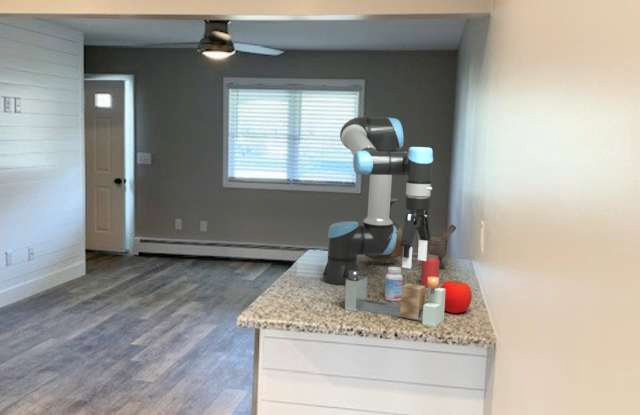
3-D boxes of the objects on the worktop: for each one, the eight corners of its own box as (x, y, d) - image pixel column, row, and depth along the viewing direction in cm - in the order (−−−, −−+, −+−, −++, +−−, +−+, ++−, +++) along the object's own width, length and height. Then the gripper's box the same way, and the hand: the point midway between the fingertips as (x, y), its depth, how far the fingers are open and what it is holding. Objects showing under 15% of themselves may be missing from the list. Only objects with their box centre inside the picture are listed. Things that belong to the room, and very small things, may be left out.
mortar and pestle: (451, 265, 275) (453, 222, 273) (454, 270, 266) (457, 225, 264) (425, 264, 276) (428, 221, 273) (428, 268, 267) (430, 224, 265)
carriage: (400, 316, 190) (401, 286, 189) (406, 312, 195) (407, 283, 194) (418, 319, 187) (419, 289, 186) (424, 315, 192) (425, 286, 191)
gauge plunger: (425, 293, 184) (426, 277, 183) (429, 291, 187) (429, 275, 186) (436, 295, 182) (436, 279, 182) (439, 293, 185) (440, 277, 185)
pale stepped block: (422, 324, 185) (424, 292, 184) (431, 317, 192) (433, 286, 191) (434, 326, 183) (436, 294, 182) (443, 319, 190) (445, 288, 189)
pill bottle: (397, 302, 209) (398, 270, 208) (381, 299, 213) (383, 268, 211) (404, 298, 214) (406, 267, 213) (389, 296, 218) (390, 265, 216)
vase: (368, 257, 288) (370, 195, 285) (408, 261, 281) (411, 198, 278) (354, 266, 266) (357, 199, 263) (397, 271, 260) (400, 202, 257)
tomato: (441, 305, 207) (442, 275, 205) (472, 310, 203) (474, 278, 201) (434, 313, 197) (436, 281, 196) (467, 318, 193) (469, 285, 192)
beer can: (438, 288, 231) (439, 257, 230) (420, 287, 232) (422, 256, 231) (438, 284, 238) (439, 254, 236) (421, 283, 239) (422, 253, 237)
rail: (344, 309, 198) (346, 270, 197) (355, 304, 205) (356, 266, 204) (422, 323, 185) (424, 282, 184) (431, 317, 192) (433, 277, 191)
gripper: (415, 201, 174) (411, 272, 177) (442, 194, 196) (438, 258, 198) (391, 199, 178) (387, 269, 180) (420, 193, 199) (417, 256, 202)
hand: (414, 264), depth 189 cm, fingers open, 13 cm apart
